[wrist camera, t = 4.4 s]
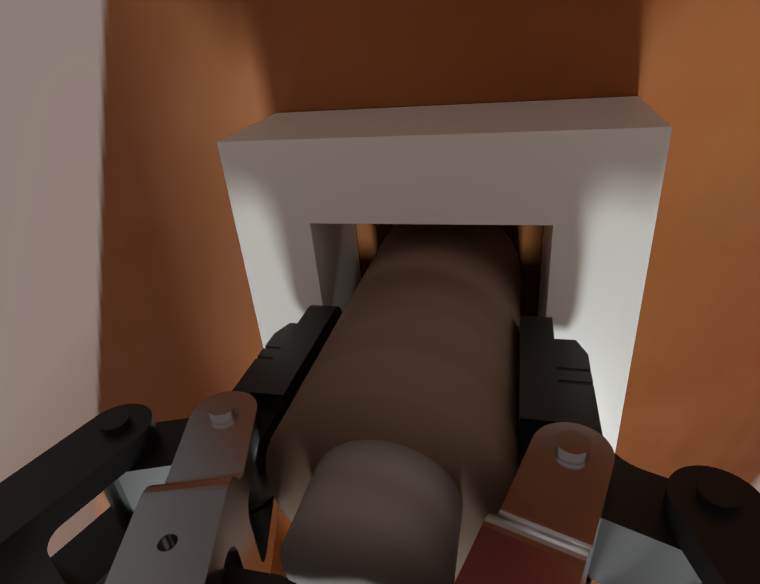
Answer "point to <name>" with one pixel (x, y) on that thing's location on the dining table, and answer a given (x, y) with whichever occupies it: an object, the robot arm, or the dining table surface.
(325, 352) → the pepper mill
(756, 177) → the dining table surface
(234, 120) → the dining table surface
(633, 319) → the holder
